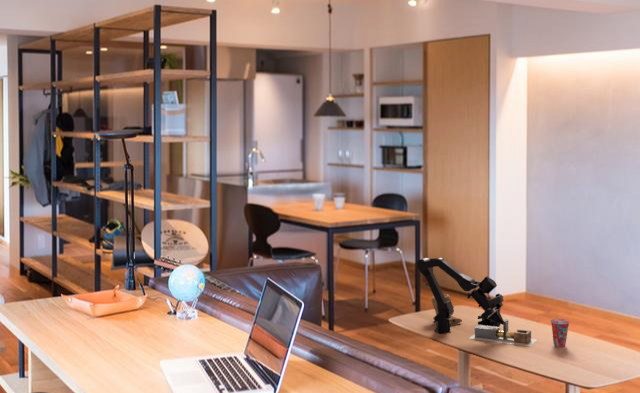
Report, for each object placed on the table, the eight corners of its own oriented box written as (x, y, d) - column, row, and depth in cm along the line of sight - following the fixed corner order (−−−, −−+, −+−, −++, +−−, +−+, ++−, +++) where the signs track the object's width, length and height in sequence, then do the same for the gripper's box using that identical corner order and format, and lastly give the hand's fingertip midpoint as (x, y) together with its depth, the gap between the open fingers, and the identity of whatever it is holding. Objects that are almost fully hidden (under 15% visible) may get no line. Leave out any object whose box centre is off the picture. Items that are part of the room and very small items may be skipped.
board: (468, 338, 393) (468, 338, 393) (477, 332, 404) (477, 332, 404) (529, 346, 378) (529, 346, 378) (536, 340, 390) (536, 339, 390)
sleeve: (474, 337, 395) (474, 327, 395) (478, 334, 401) (478, 324, 400) (495, 339, 390) (495, 330, 389) (499, 336, 395) (499, 327, 395)
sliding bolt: (482, 336, 394) (482, 318, 393) (485, 334, 398) (485, 316, 397) (516, 341, 386) (516, 322, 385) (519, 338, 390) (519, 320, 389)
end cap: (501, 329, 411) (501, 316, 411) (491, 331, 407) (491, 318, 407) (487, 325, 420) (487, 312, 419) (477, 327, 416) (477, 314, 415)
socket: (513, 342, 385) (513, 332, 385) (517, 338, 391) (517, 329, 391) (527, 344, 382) (527, 334, 382) (531, 340, 388) (531, 330, 388)
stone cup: (427, 321, 429) (427, 293, 428) (445, 318, 435) (445, 290, 433) (444, 327, 416) (444, 298, 414) (462, 324, 422) (463, 296, 420)
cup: (569, 349, 374) (570, 323, 373) (551, 348, 376) (551, 323, 375) (567, 343, 383) (568, 318, 382) (549, 342, 385) (549, 318, 384)
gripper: (487, 292, 383) (510, 318, 379) (499, 285, 400) (521, 309, 395) (471, 307, 388) (493, 332, 384) (483, 299, 404) (505, 323, 400)
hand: (504, 324), depth 390 cm, fingers closed, pressing on sliding bolt
